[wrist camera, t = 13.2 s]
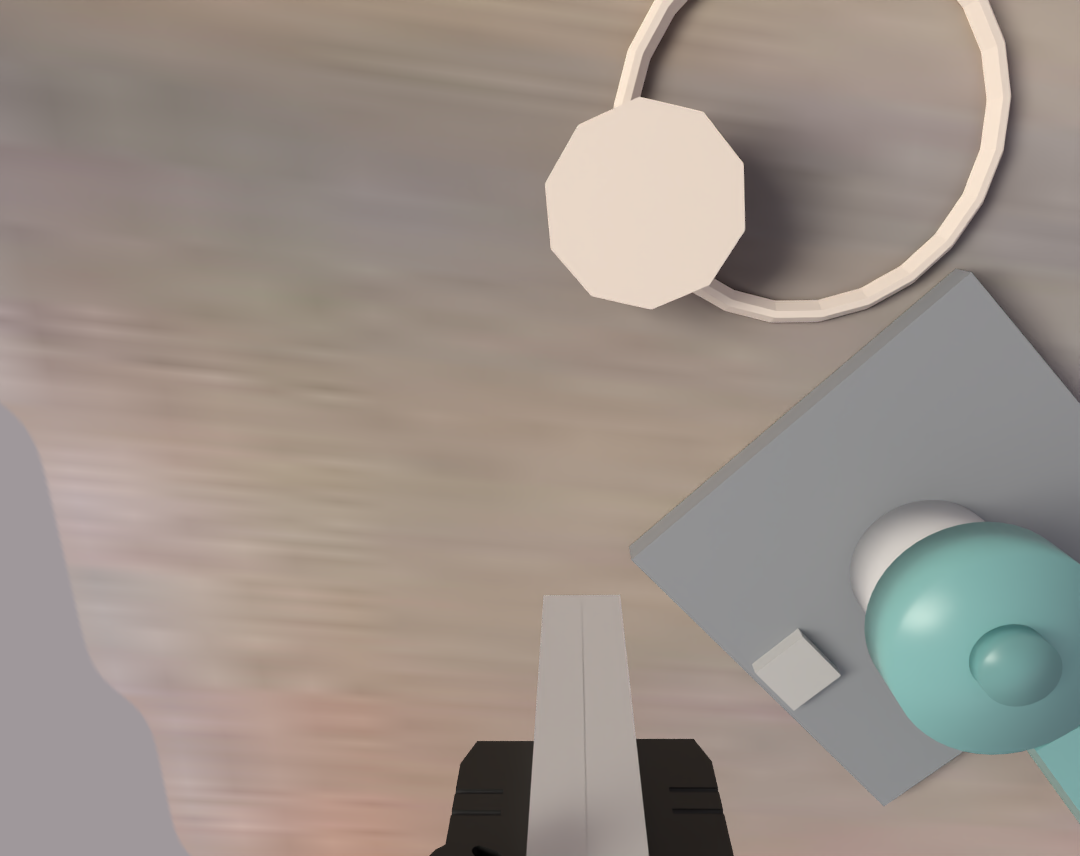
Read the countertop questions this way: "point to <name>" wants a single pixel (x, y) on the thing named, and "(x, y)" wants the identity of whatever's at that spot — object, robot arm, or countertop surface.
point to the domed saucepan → (985, 645)
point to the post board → (870, 514)
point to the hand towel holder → (712, 194)
